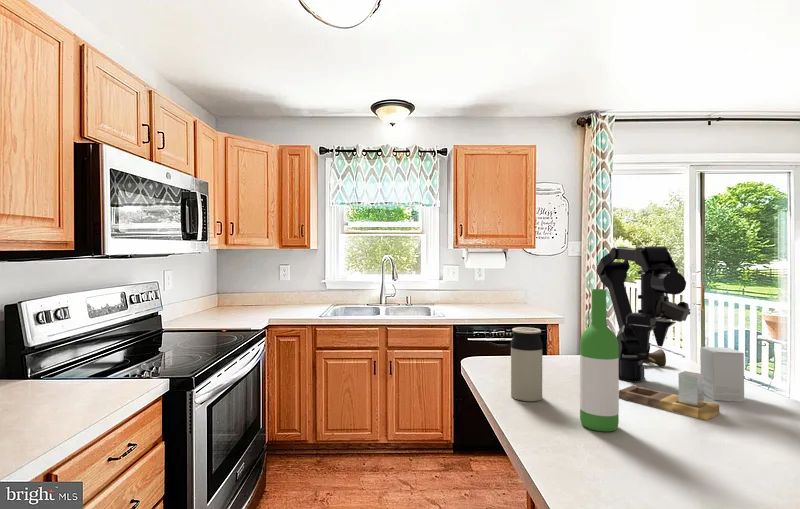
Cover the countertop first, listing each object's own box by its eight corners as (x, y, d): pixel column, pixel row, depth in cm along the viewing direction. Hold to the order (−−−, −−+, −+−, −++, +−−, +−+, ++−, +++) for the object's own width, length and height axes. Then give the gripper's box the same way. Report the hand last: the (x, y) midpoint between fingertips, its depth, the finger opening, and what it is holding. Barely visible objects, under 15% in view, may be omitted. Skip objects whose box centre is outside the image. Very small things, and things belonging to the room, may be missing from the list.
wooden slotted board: (618, 398, 116) (618, 390, 116) (633, 392, 121) (633, 385, 121) (706, 420, 100) (706, 411, 100) (719, 412, 105) (719, 404, 105)
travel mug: (546, 402, 112) (546, 331, 112) (515, 402, 112) (515, 331, 113) (537, 393, 120) (537, 327, 120) (507, 392, 120) (507, 326, 120)
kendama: (648, 359, 164) (671, 371, 144) (621, 358, 165) (640, 370, 146) (648, 342, 164) (671, 352, 144) (620, 342, 166) (639, 352, 146)
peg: (678, 410, 106) (678, 373, 106) (685, 407, 109) (685, 370, 109) (697, 415, 103) (697, 377, 103) (703, 411, 106) (703, 374, 106)
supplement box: (745, 402, 113) (745, 353, 113) (712, 400, 114) (712, 351, 114) (729, 393, 120) (729, 347, 120) (699, 391, 121) (699, 346, 122)
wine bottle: (572, 425, 97) (572, 289, 97) (591, 417, 102) (591, 287, 102) (607, 436, 91) (607, 291, 91) (625, 427, 96) (625, 289, 96)
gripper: (670, 295, 110) (670, 358, 109) (699, 292, 121) (699, 348, 121) (625, 292, 118) (625, 350, 118) (655, 289, 130) (655, 342, 130)
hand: (652, 348), depth 121 cm, fingers open, 9 cm apart
